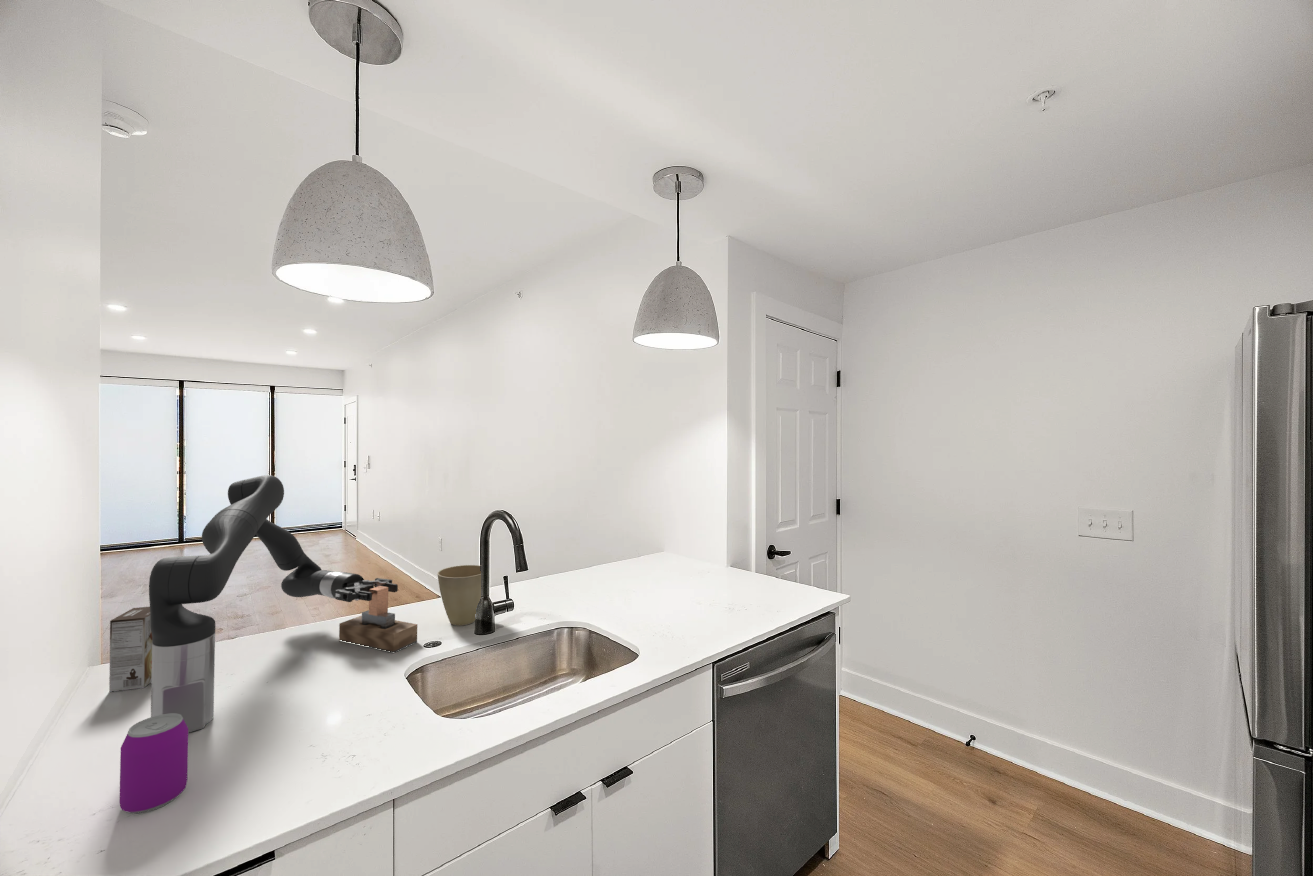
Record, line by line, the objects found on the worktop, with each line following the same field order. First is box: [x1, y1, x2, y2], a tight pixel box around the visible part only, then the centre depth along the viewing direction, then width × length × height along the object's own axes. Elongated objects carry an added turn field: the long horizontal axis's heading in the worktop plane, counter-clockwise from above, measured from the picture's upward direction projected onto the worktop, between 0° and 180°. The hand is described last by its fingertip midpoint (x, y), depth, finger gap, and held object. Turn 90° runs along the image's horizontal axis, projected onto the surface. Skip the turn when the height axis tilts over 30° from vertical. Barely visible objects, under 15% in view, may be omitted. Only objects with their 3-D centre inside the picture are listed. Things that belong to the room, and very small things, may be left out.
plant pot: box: [436, 564, 481, 627], centre depth 161 cm, size 15×15×16 cm
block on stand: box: [361, 586, 396, 629], centre depth 144 cm, size 9×4×14 cm, turn 70°
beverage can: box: [119, 713, 189, 815], centre depth 81 cm, size 8×8×12 cm
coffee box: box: [108, 606, 152, 693], centre depth 119 cm, size 9×6×16 cm
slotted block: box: [338, 615, 418, 653], centre depth 144 cm, size 20×8×5 cm, turn 70°
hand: (384, 592), depth 144 cm, fingers open, 8 cm apart
